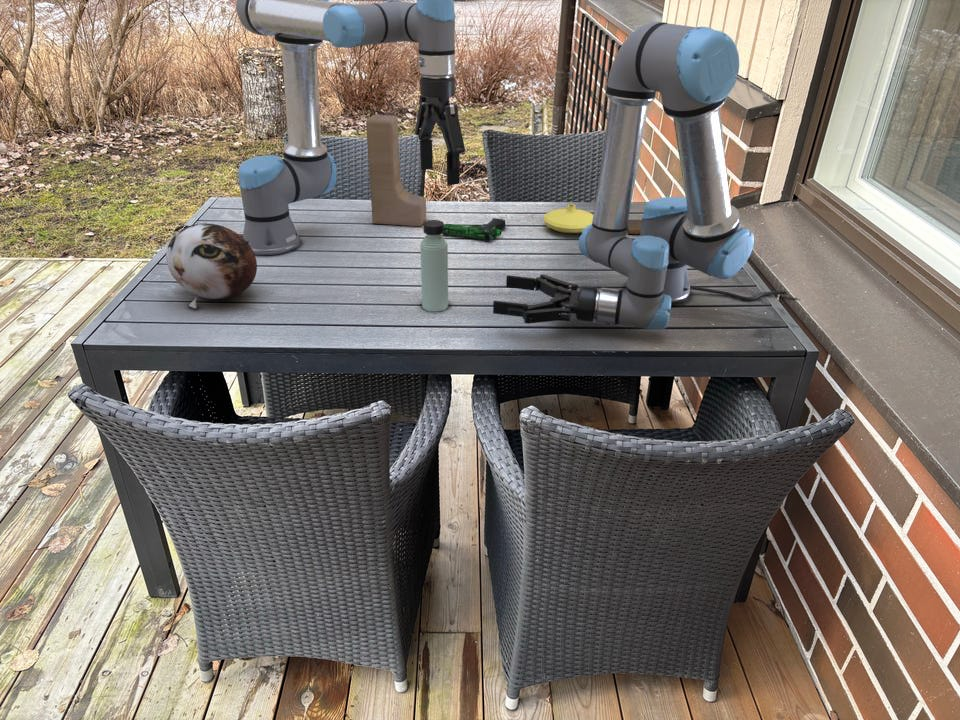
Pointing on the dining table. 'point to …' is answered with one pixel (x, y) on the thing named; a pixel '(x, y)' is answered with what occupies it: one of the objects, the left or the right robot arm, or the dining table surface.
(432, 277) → the bottle
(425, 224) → the cap
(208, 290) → the cat face balloon
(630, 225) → the dark wooden board
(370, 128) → the decorative block
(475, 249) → the dining table surface
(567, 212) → the yellow low dome
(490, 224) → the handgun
